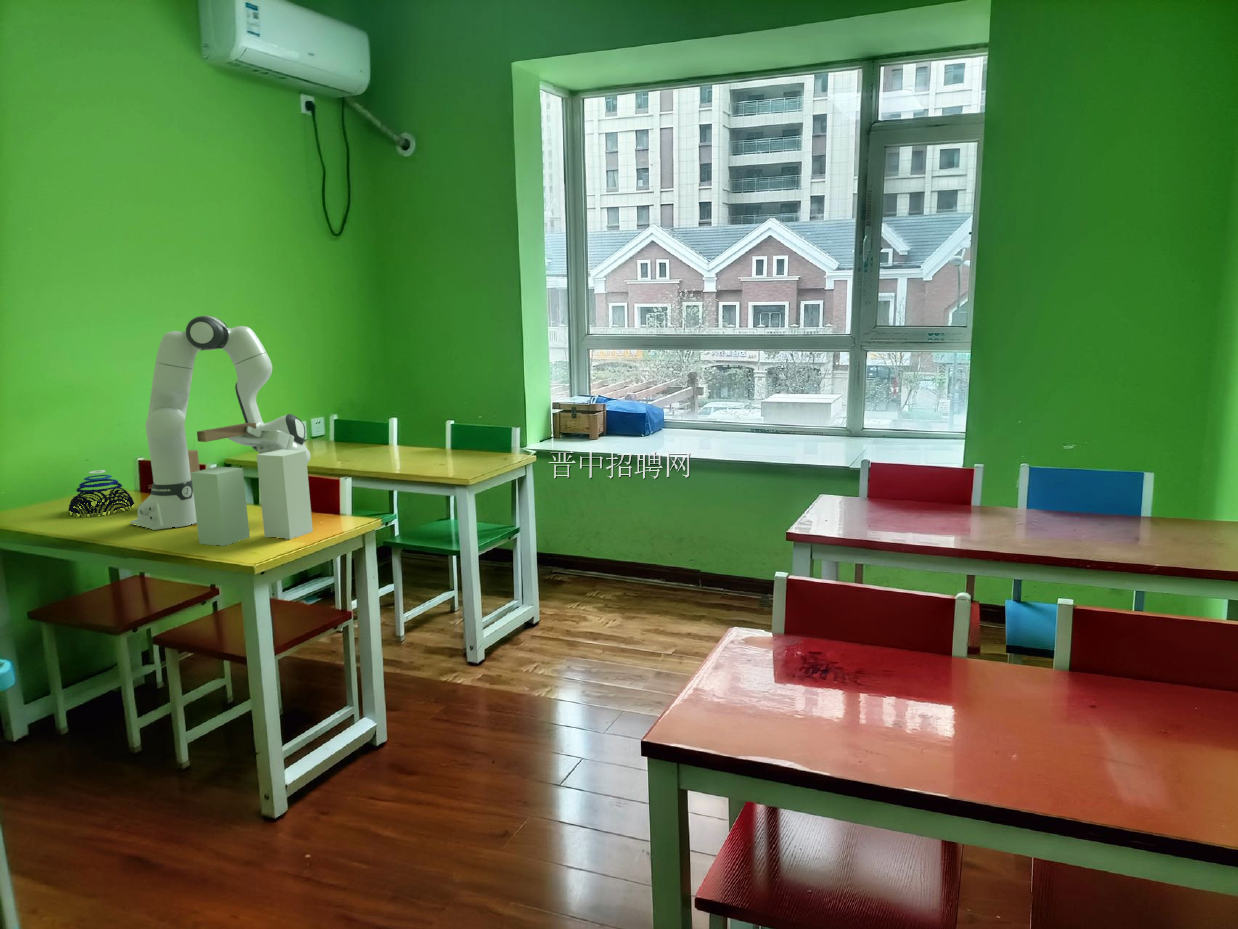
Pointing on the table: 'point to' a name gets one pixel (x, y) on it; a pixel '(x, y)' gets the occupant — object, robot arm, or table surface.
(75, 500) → the decorative bowl
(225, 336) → the robot arm
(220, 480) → the sage post
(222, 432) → the walnut bar
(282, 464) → the grey post
